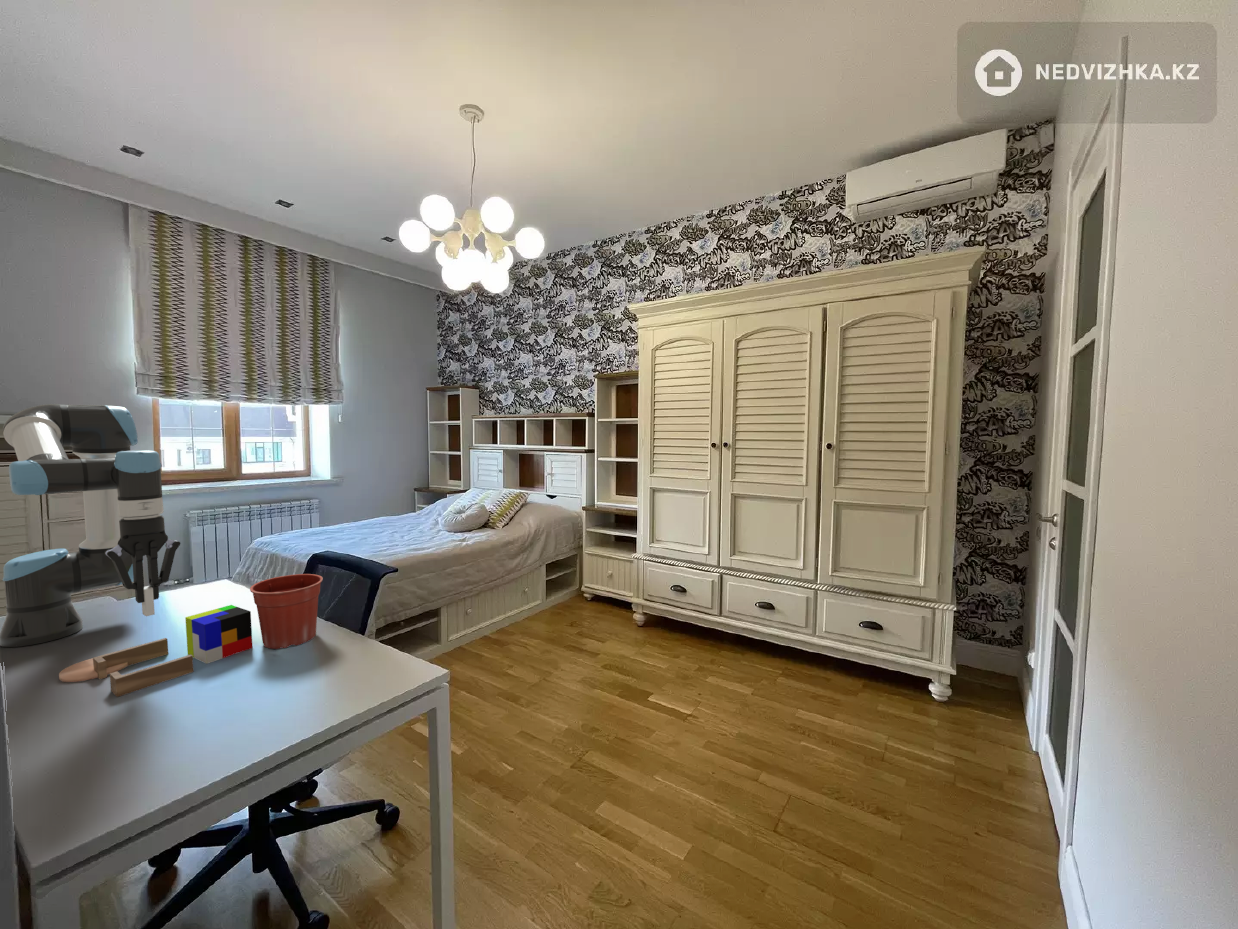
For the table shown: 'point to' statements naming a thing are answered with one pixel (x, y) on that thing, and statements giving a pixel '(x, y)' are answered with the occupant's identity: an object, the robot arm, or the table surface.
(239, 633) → the puzzle toy
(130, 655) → the pocket frame
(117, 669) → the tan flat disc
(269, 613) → the flower pot
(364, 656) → the table surface
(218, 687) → the table surface
